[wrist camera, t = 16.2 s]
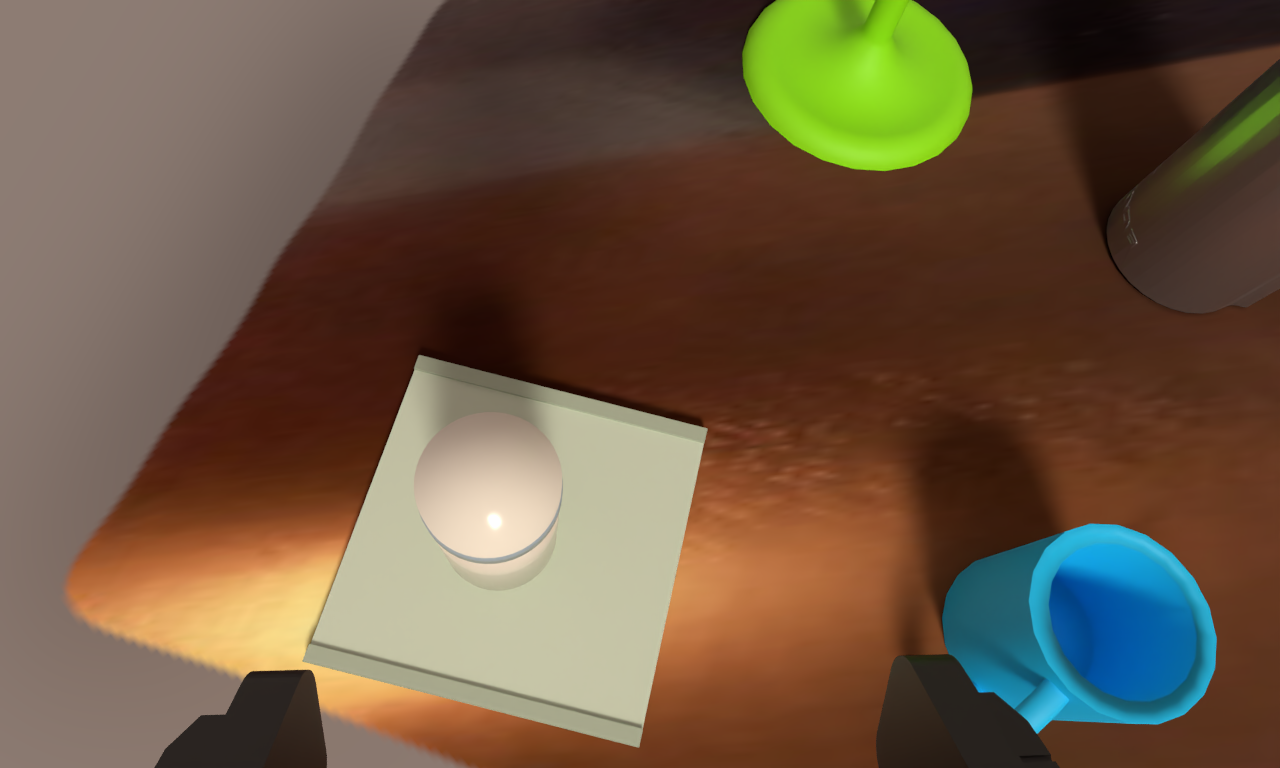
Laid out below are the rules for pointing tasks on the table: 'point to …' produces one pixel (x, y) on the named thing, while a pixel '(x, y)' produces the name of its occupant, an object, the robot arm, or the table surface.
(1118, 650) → the mug
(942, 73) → the wineglass
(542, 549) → the cream domed container
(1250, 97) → the robot arm
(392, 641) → the mat
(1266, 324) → the table surface
